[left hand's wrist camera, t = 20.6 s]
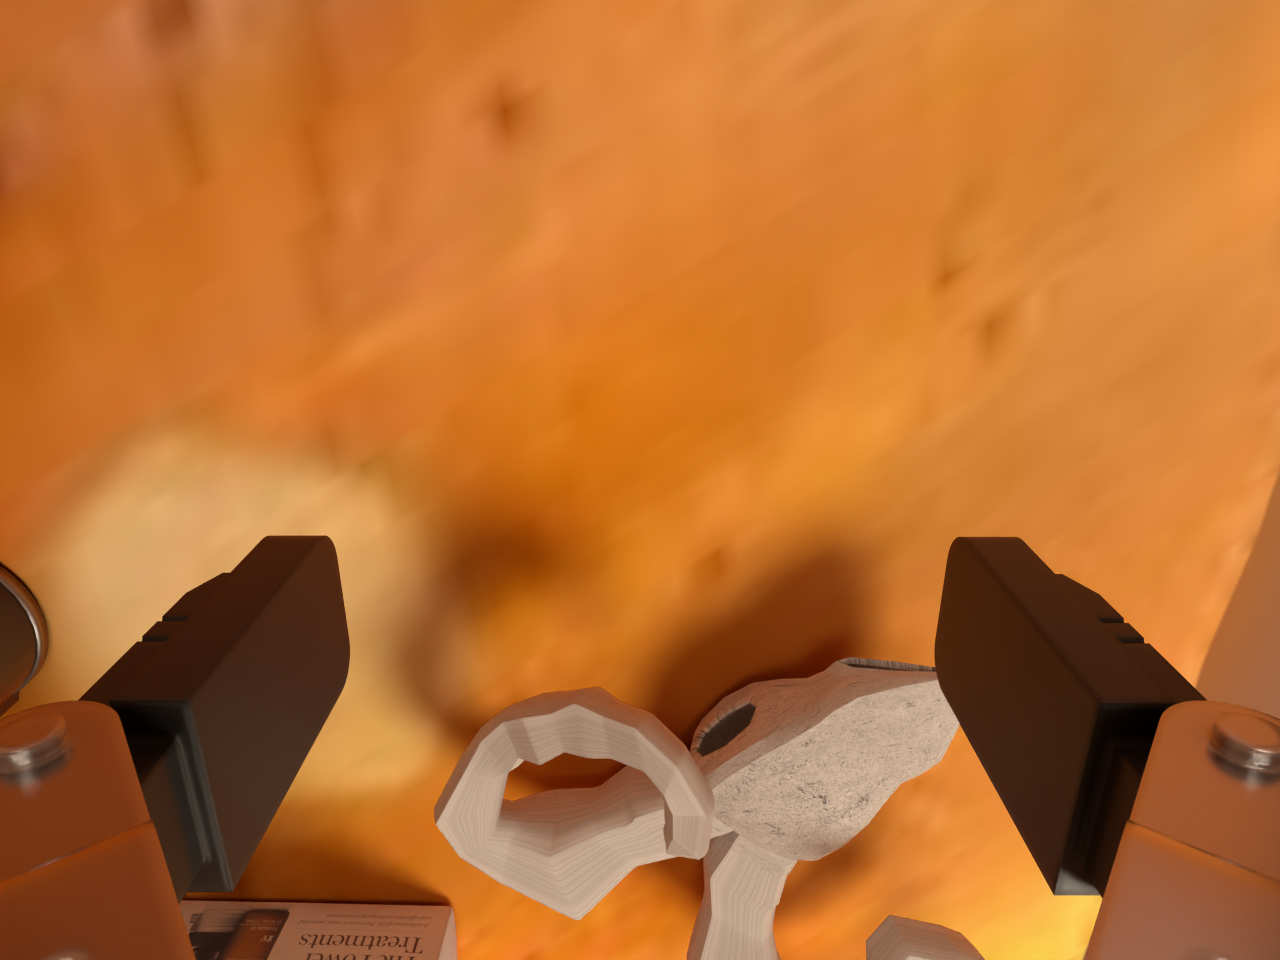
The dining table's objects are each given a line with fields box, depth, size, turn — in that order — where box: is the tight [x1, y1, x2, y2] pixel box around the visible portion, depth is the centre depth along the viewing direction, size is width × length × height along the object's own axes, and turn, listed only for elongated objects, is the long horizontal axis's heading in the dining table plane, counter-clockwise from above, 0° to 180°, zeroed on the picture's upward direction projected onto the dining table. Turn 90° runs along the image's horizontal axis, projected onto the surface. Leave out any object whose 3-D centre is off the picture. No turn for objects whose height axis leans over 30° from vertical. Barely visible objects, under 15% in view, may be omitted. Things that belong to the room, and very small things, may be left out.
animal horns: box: [434, 657, 985, 960], centre depth 45 cm, size 28×26×12 cm
